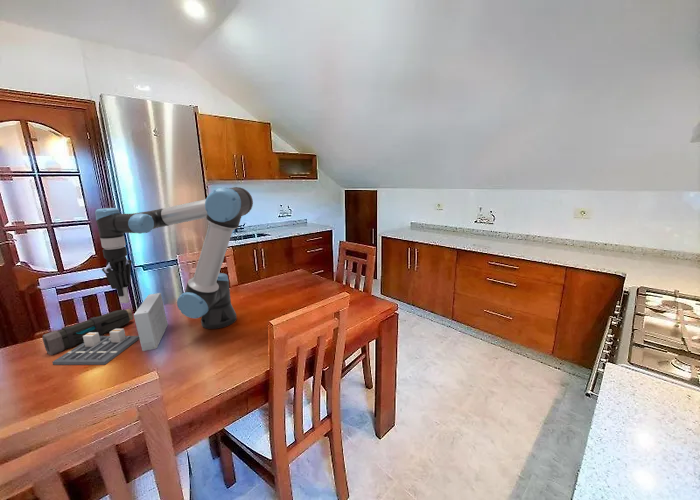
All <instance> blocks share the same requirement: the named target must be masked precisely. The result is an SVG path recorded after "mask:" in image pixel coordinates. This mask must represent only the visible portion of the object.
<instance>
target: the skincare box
mask: <svg viewBox="0 0 700 500" xmlns="http://www.w3.org/2000/svg"><path fill="white" fill-rule="evenodd" d="M133 320H134V321H135V322H134V323H135V325H136V326H135V327H136V330H137V334H138V335H137V336H139V339H138V340H139V342H140V343H139V344H140V346H141V351H142V352H146V351H150V350H151V351H152V350H156V349H158V346H159V344H160V343H161V340H162V338H163V336H164V334H165V331H166V330H167V328H168V325H169V323H168V319H167V315H166V311H165V306H164V301H163V298H162V293H161V292H157V293H151V294H147V296H146V298H145V299H144V300H143V301H142V303H141V304H140V305H139V307H138V308H137V310H136V311H135V313H134V314H133Z"/></svg>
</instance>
